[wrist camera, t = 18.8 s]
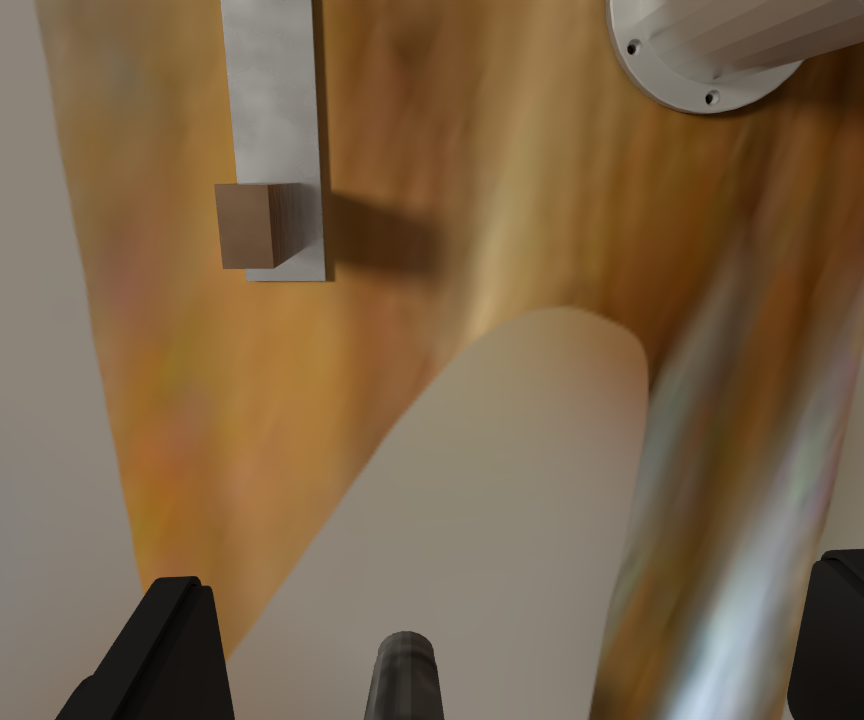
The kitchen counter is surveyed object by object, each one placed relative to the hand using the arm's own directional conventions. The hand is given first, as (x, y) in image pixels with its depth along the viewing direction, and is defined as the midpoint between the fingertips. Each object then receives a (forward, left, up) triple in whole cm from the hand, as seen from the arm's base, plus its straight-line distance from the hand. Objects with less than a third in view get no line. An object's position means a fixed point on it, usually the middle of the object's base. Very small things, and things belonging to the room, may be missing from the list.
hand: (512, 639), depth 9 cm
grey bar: (+2, -15, -31) cm, 34 cm away
